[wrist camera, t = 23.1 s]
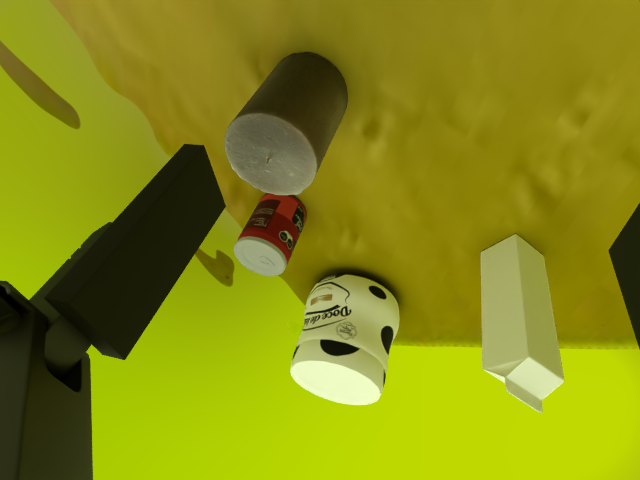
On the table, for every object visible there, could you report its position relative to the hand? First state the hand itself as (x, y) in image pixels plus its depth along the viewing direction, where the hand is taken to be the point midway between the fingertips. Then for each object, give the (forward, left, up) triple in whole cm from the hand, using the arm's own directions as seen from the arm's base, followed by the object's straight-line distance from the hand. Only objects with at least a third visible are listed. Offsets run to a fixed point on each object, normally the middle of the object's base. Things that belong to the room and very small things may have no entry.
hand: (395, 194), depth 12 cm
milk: (+30, -24, -33) cm, 51 cm away
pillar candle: (-6, -18, -33) cm, 38 cm away
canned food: (-2, -38, -33) cm, 50 cm away
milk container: (+18, -50, -33) cm, 62 cm away
